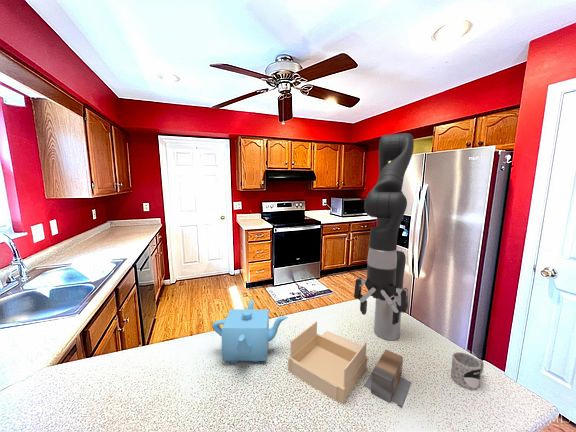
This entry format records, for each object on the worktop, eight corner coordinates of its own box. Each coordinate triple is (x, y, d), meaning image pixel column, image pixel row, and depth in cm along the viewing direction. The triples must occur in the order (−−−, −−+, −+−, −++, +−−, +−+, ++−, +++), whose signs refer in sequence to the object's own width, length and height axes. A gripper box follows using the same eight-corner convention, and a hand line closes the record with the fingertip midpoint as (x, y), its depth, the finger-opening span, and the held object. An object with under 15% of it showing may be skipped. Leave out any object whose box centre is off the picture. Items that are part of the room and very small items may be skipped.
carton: (322, 340, 89) (323, 315, 88) (371, 362, 77) (372, 335, 76) (287, 372, 73) (287, 342, 72) (342, 406, 61) (344, 372, 60)
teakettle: (208, 353, 80) (207, 312, 79) (252, 330, 94) (252, 294, 92) (242, 385, 67) (242, 336, 66) (287, 353, 81) (288, 312, 79)
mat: (375, 367, 75) (375, 365, 75) (410, 383, 69) (410, 381, 69) (363, 387, 67) (363, 385, 67) (401, 407, 61) (401, 405, 61)
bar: (384, 367, 74) (385, 349, 74) (401, 375, 71) (403, 356, 71) (370, 392, 65) (371, 371, 64) (389, 402, 62) (391, 381, 61)
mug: (466, 392, 66) (469, 370, 66) (445, 374, 73) (447, 354, 72) (493, 385, 69) (495, 363, 68) (470, 368, 75) (472, 348, 75)
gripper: (412, 265, 65) (408, 321, 67) (361, 256, 74) (359, 305, 76) (406, 273, 60) (402, 333, 61) (352, 262, 68) (349, 315, 70)
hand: (378, 318), depth 69 cm, fingers open, 8 cm apart
